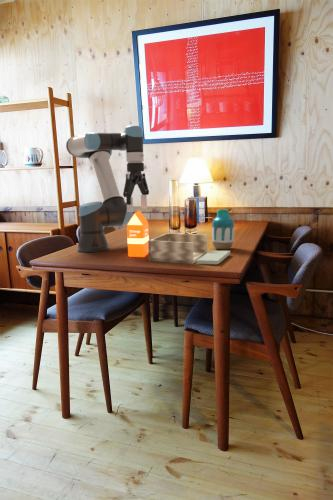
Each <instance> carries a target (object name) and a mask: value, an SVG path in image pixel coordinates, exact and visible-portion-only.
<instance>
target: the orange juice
mask: <svg viewBox="0 0 333 500" xmlns="http://www.w3.org/2000/svg"><path fill="white" fill-rule="evenodd" d="M133 213H134V214H132V216H131V220H130V221H129V223H128V224H127V225H126V234H127V236H126V239H127V240H126V241H127V255H128V256H127V257H131V258H135V257H136V258H145V257H146V256H147V255H149V254H148V253H149V251H148V240H150V237H149V236H150V234H149V233H150V232H149V221H148V220H147V219H146V217H145V216H144V215H143V213H142V211H141V210H137V211H136V212H133Z"/></svg>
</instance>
